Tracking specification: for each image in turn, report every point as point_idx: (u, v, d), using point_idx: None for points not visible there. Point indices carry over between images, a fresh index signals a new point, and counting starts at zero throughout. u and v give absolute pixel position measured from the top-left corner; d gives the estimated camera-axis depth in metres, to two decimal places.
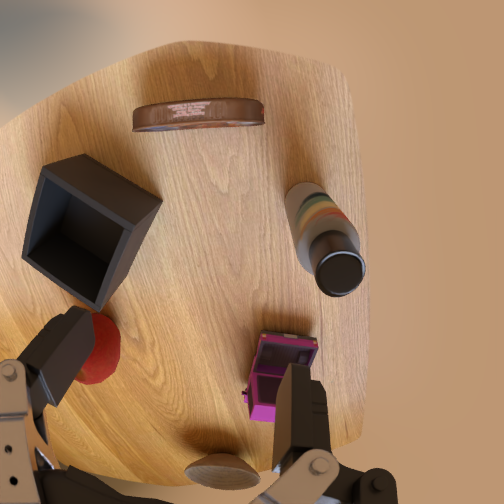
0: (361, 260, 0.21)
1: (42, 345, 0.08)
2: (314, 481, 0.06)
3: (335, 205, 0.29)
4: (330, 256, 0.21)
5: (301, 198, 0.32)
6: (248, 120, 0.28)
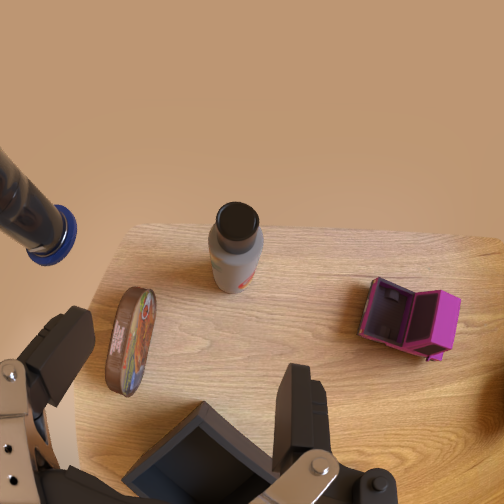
0: (228, 203, 0.27)
1: (42, 345, 0.08)
2: (314, 481, 0.06)
3: None
4: (220, 227, 0.27)
5: None
6: (140, 296, 0.36)
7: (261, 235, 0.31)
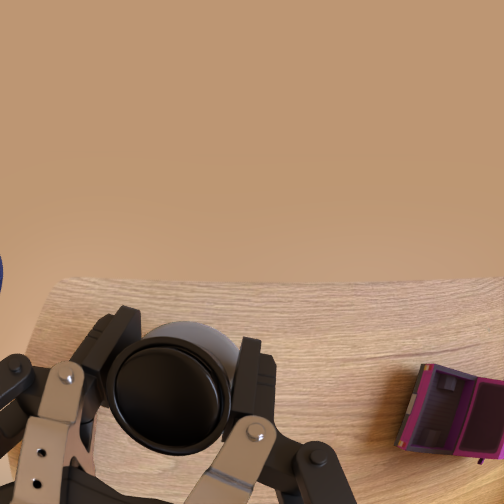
0: (138, 345, 0.08)
1: (97, 346, 0.09)
2: (248, 445, 0.07)
3: None
4: (119, 413, 0.08)
5: None
6: None
7: None
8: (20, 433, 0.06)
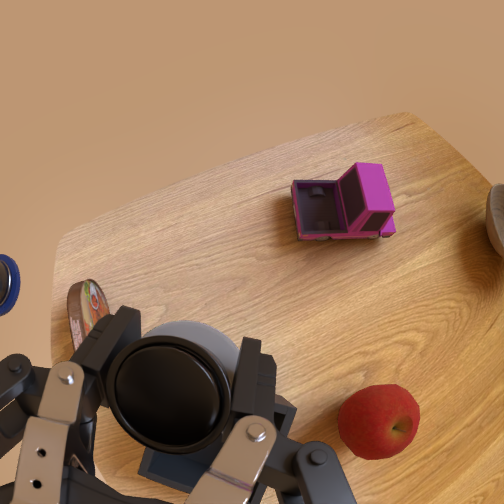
0: (138, 344, 0.08)
1: (97, 346, 0.09)
2: (248, 445, 0.07)
3: None
4: (119, 412, 0.08)
5: None
6: (81, 286, 0.34)
7: None
8: (20, 433, 0.06)
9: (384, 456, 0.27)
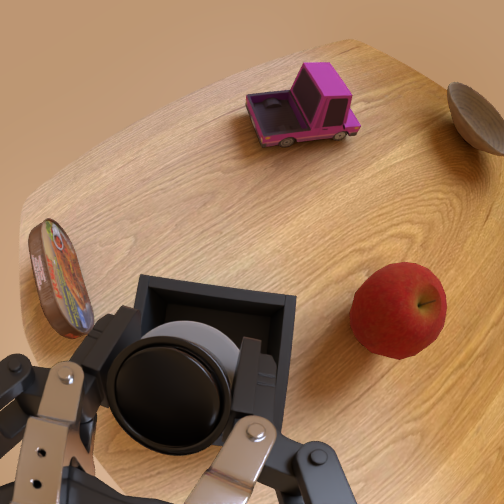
0: (138, 344, 0.08)
1: (97, 346, 0.09)
2: (248, 446, 0.07)
3: None
4: (119, 412, 0.08)
5: None
6: (42, 222, 0.29)
7: None
8: (20, 434, 0.06)
9: (419, 344, 0.25)
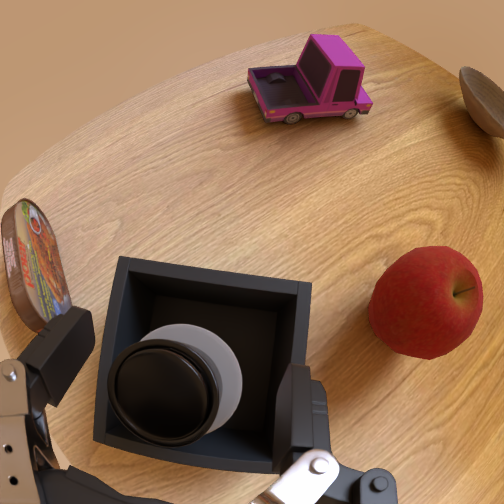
0: (136, 346, 0.09)
1: (42, 345, 0.08)
2: (314, 481, 0.06)
3: None
4: (118, 407, 0.09)
5: None
6: (17, 202, 0.24)
7: (237, 376, 0.13)
8: None
9: (454, 341, 0.19)
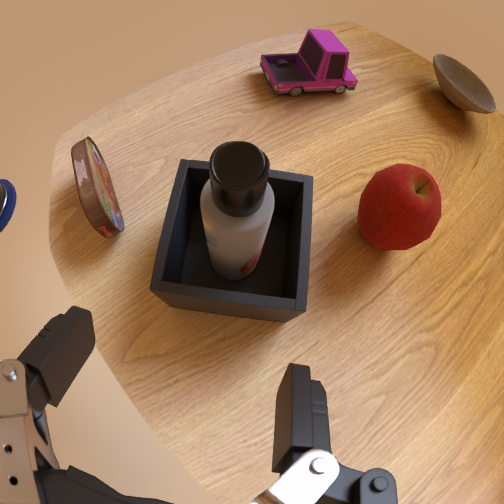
0: (227, 143, 0.19)
1: (42, 345, 0.08)
2: (314, 481, 0.06)
3: None
4: (214, 172, 0.18)
5: (208, 245, 0.30)
6: None
7: (271, 194, 0.23)
8: None
9: (421, 223, 0.29)
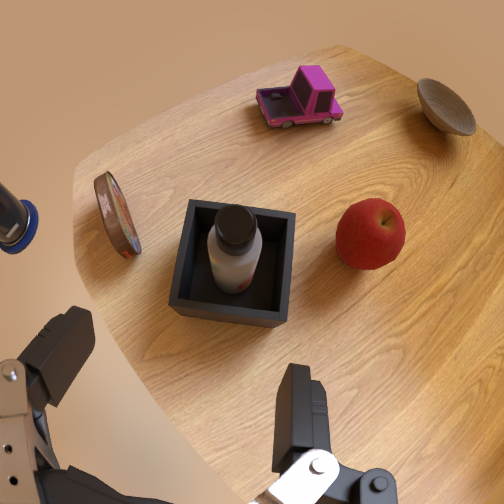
0: (227, 206, 0.28)
1: (42, 345, 0.08)
2: (314, 481, 0.06)
3: None
4: (218, 229, 0.27)
5: (212, 270, 0.38)
6: (106, 172, 0.43)
7: (260, 237, 0.32)
8: None
9: (384, 250, 0.38)
